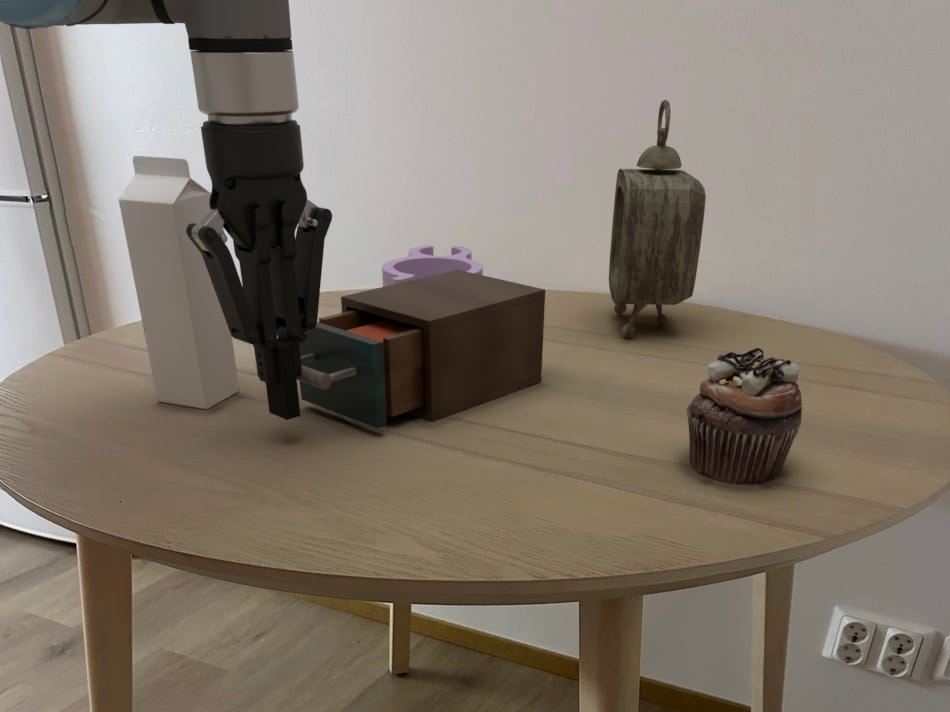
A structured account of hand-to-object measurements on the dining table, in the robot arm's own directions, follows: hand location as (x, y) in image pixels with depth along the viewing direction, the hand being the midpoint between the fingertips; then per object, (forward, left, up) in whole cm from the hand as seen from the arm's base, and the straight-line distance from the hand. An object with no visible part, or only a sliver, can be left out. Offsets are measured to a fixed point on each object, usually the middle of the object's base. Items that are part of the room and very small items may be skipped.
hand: (284, 414), depth 84 cm
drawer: (0, +12, -2) cm, 12 cm away
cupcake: (+33, +24, -3) cm, 41 cm away
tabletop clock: (+2, +55, -3) cm, 55 cm away
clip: (-20, +39, -3) cm, 44 cm away
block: (0, +12, -1) cm, 12 cm away
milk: (-16, +1, -3) cm, 16 cm away
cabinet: (0, +21, -3) cm, 21 cm away
